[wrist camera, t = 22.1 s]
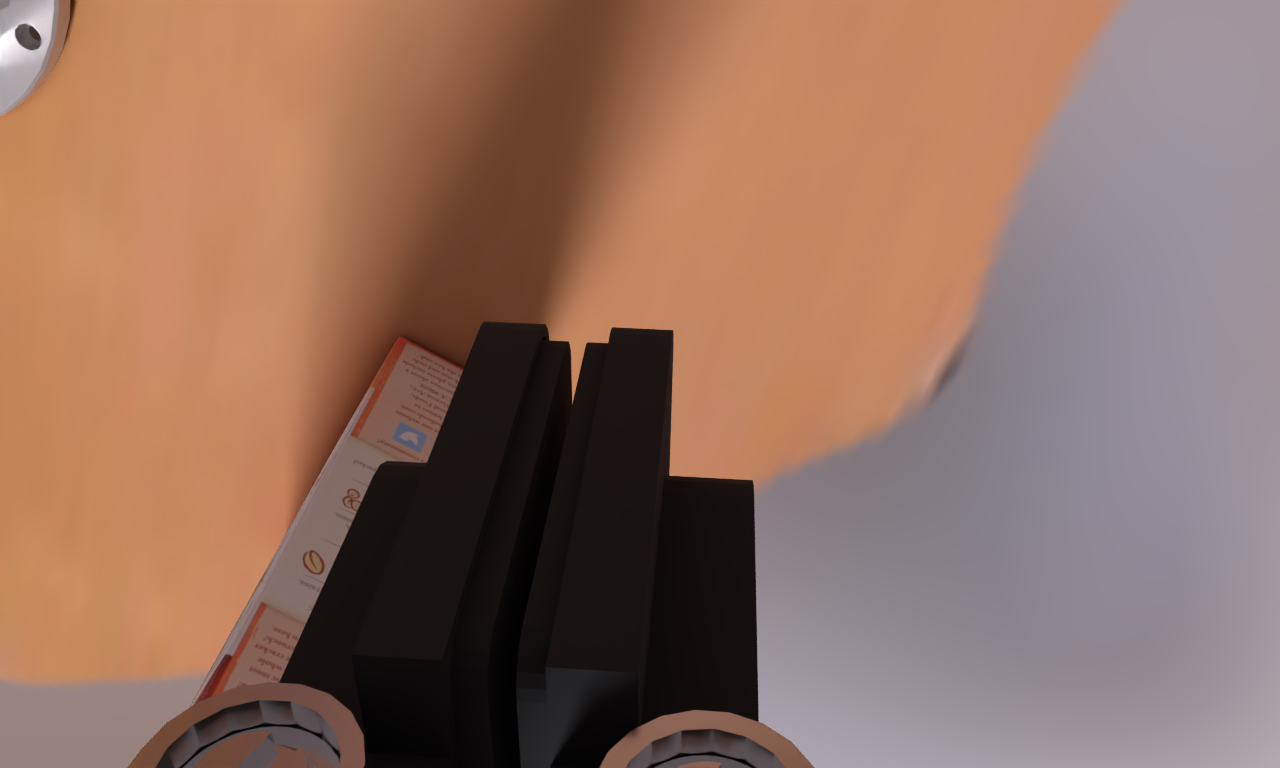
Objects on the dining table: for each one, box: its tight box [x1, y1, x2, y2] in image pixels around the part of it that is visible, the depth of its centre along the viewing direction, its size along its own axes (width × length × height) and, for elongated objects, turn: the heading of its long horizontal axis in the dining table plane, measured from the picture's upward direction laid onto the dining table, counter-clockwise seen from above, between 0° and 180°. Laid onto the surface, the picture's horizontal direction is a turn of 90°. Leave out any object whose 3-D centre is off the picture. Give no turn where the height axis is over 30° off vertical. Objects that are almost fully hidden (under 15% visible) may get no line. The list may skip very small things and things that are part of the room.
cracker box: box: [190, 337, 464, 707], centre depth 39 cm, size 14×6×21 cm, turn 150°
